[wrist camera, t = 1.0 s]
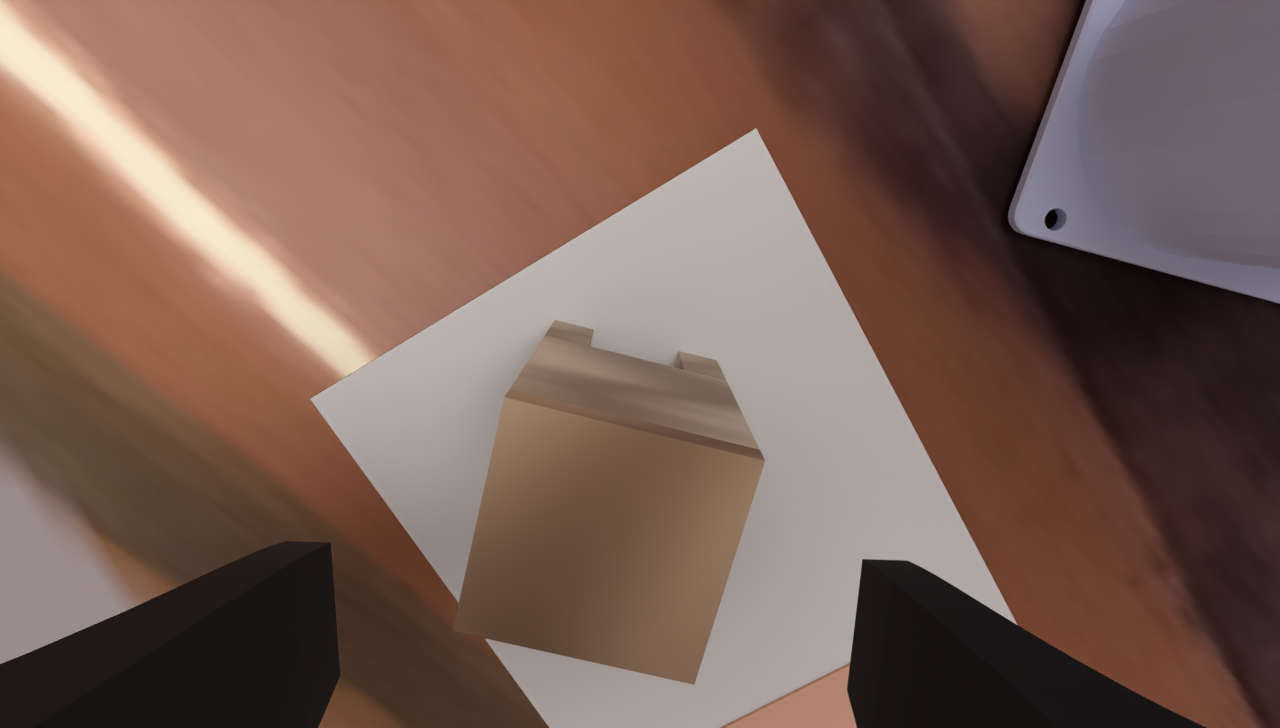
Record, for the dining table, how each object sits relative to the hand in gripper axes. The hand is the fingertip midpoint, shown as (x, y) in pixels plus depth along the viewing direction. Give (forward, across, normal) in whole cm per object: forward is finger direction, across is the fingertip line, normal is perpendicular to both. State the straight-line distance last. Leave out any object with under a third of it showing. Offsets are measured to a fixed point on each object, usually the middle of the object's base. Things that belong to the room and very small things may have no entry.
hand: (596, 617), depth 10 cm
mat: (+9, -4, +6) cm, 12 cm away
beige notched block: (+9, 0, 0) cm, 9 cm away
